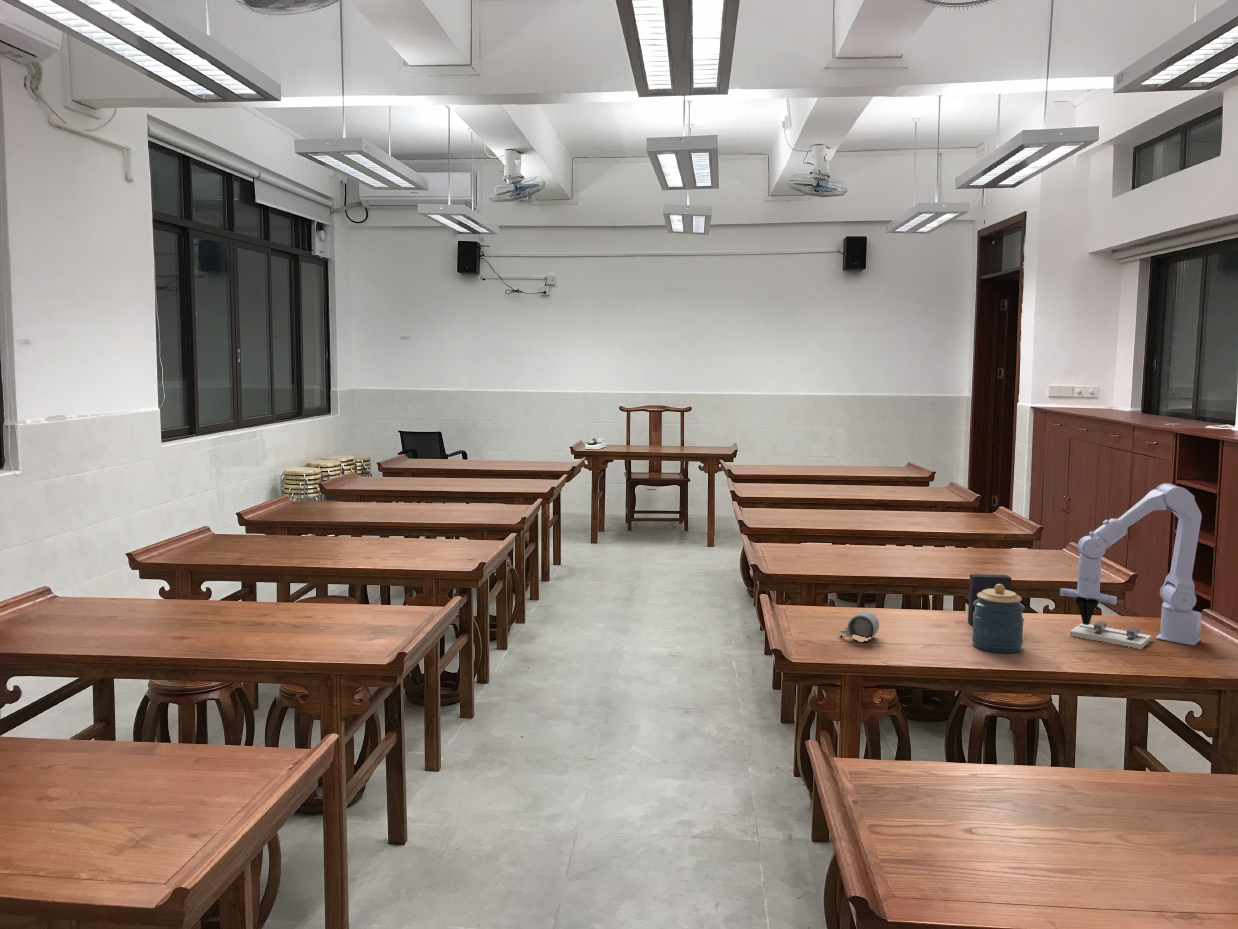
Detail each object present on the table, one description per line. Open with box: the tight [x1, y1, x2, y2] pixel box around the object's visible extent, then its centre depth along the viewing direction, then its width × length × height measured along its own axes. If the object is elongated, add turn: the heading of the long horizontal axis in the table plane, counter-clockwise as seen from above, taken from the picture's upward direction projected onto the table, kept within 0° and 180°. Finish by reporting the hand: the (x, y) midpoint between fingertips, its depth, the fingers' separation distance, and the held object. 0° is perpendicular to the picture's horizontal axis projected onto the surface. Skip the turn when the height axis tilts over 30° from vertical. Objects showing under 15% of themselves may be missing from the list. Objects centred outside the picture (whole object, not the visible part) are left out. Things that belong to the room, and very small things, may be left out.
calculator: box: [967, 573, 1012, 626], centre depth 262 cm, size 11×4×15 cm, turn 84°
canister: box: [971, 584, 1026, 654], centre depth 240 cm, size 13×13×18 cm
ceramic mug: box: [839, 611, 880, 641], centre depth 249 cm, size 11×8×8 cm
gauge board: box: [1069, 622, 1152, 650], centre depth 249 cm, size 18×11×2 cm, turn 46°
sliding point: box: [1093, 620, 1108, 632], centre depth 250 cm, size 2×6×2 cm, turn 136°
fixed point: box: [1126, 626, 1140, 638], centre depth 245 cm, size 2×6×2 cm, turn 136°
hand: (1086, 624), depth 253 cm, fingers closed
